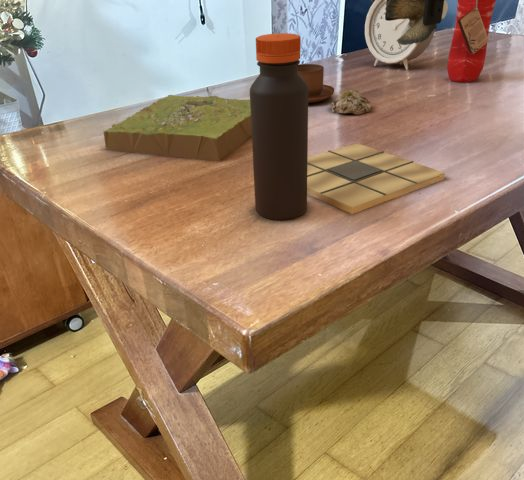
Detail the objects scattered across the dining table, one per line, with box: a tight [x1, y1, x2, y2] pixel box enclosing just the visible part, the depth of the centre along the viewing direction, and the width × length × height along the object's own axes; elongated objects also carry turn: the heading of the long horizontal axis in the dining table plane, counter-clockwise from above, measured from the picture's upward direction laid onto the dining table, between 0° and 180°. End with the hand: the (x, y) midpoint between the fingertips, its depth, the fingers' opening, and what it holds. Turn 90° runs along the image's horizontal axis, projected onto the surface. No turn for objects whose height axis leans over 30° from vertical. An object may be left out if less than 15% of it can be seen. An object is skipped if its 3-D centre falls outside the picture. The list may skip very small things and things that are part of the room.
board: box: [307, 142, 446, 215], centre depth 79 cm, size 18×18×1 cm
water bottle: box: [446, 0, 497, 83], centre depth 114 cm, size 12×8×25 cm, turn 159°
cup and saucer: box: [297, 63, 335, 104], centre depth 112 cm, size 12×12×6 cm
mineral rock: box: [330, 89, 373, 116], centre depth 107 cm, size 11×4×8 cm
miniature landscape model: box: [103, 94, 252, 162], centre depth 97 cm, size 22×24×5 cm
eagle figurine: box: [385, 0, 449, 45], centre depth 79 cm, size 8×7×9 cm
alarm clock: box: [364, 0, 436, 71], centre depth 130 cm, size 16×9×22 cm, turn 49°
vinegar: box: [249, 32, 309, 221], centre depth 65 cm, size 7×7×20 cm
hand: (412, 20), depth 80 cm, fingers closed on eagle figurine, 6 cm apart
